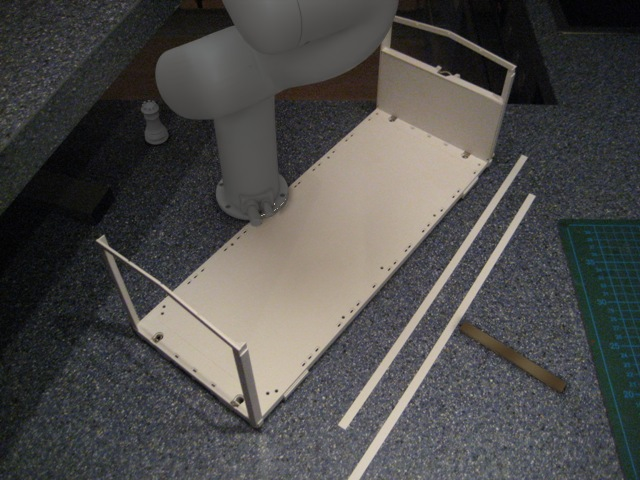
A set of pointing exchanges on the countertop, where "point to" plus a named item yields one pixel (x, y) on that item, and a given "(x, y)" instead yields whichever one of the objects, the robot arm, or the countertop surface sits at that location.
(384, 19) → the robot arm
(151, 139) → the rook chess piece
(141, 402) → the countertop surface
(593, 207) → the countertop surface
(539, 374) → the stick
